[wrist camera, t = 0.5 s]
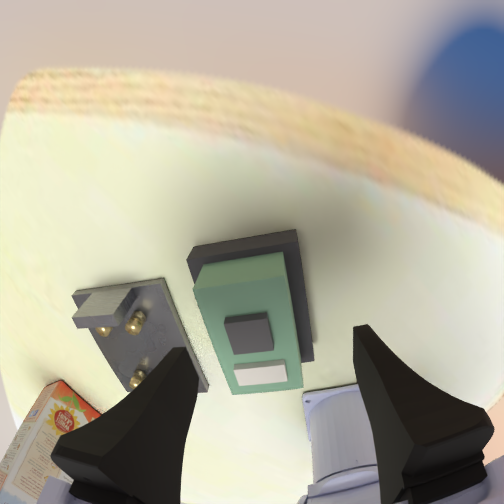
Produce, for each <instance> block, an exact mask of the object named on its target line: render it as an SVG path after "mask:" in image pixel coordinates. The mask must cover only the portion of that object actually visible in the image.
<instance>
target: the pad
mask: <svg viewBox="0 0 504 504" xmlns="http://www.w3.org/2000/svg"><path fill="white" fill-rule="evenodd" d="M277 252H283V256H284V261H285V267H286V272H287V278H288V283H289V289H290V295H291V301H292V307H293V313H294V319H295V325H296V331H297V337H298V343H299V349H300V356H301V363H304V362H311V361H314V352H313V344H312V336H311V328H310V320H309V313H308V305H307V298H306V291H305V284H304V277H303V270H302V264H301V257H300V251H299V245H298V239H297V234H296V229H295V230H289V231H283V232H277V233H271V234H265V235H259V236H253V237H248V238H242V239H236V240H230V241H225V242H219V243H213V244H208V245H202V246H196V247H193V249H192V251H191V253H190V254H189V256H188V258H187V263H188V266H189V269H190V272H191V275H192V278H193V281H194V284H195V283H196V280H197V278H198V276H199V273H200V271H201V269H202V267H203V264H209V263H215V262H221V261H228V260H234V259H240V258H246V257H252V256H258V255H264V254H271V253H277Z"/></svg>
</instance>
